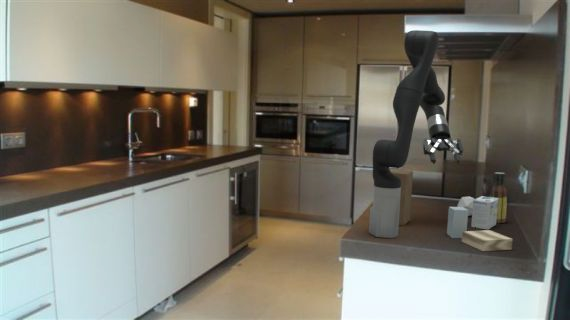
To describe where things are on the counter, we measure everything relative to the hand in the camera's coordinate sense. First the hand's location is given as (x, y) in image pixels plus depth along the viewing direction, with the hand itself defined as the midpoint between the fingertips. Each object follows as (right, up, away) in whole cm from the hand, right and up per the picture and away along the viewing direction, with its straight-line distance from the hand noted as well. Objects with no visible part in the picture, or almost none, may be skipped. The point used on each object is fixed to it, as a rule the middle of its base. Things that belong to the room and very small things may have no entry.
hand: (446, 162), depth 181 cm
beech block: (+7, -27, -18) cm, 33 cm away
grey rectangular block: (+1, -26, -7) cm, 27 cm away
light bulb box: (+17, -25, +9) cm, 32 cm away
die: (+18, -23, +27) cm, 39 cm away
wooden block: (-17, -23, +11) cm, 31 cm away
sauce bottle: (+26, -24, +16) cm, 39 cm away
